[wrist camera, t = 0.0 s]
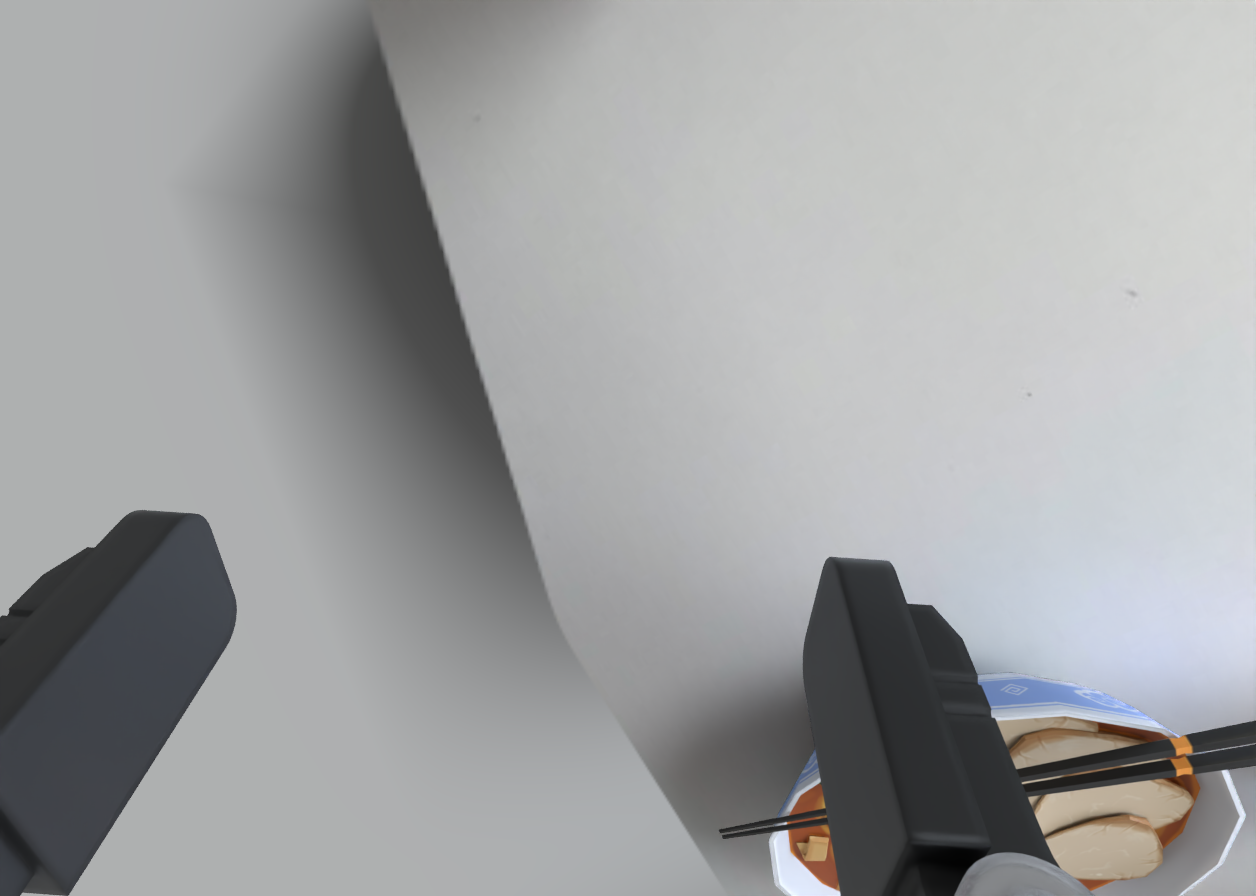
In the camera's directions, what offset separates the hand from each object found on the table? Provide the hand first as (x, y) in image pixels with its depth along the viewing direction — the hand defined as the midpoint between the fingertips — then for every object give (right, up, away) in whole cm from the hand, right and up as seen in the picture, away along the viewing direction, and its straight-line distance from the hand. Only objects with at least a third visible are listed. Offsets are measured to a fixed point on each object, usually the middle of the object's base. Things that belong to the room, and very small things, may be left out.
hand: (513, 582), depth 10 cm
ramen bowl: (+21, -15, +35) cm, 43 cm away
